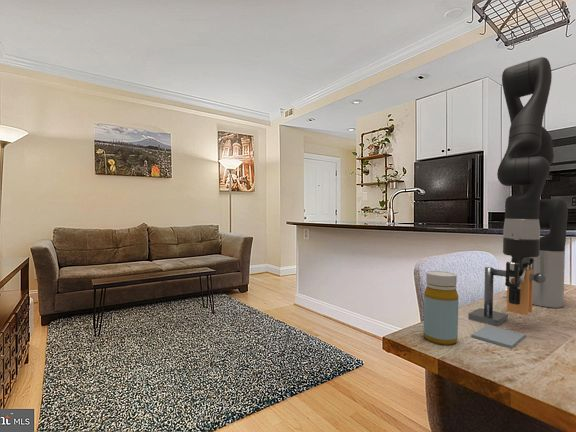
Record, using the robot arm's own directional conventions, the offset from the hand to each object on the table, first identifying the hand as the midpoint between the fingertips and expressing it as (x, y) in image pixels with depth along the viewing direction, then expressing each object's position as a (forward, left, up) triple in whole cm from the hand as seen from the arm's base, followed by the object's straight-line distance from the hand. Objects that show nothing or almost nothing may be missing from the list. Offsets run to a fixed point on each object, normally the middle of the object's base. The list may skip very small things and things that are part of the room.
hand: (519, 300), depth 82 cm
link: (0, 0, -3) cm, 3 cm away
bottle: (+24, -9, -7) cm, 27 cm away
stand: (0, -3, -7) cm, 7 cm away
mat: (+12, -1, -7) cm, 14 cm away
